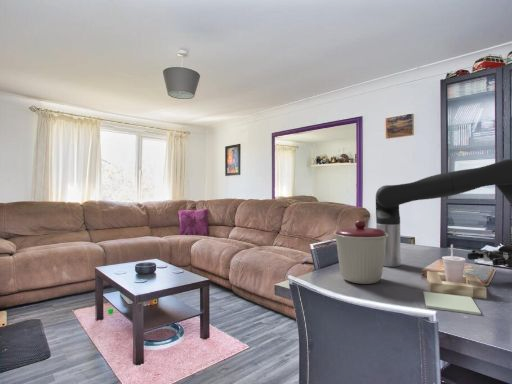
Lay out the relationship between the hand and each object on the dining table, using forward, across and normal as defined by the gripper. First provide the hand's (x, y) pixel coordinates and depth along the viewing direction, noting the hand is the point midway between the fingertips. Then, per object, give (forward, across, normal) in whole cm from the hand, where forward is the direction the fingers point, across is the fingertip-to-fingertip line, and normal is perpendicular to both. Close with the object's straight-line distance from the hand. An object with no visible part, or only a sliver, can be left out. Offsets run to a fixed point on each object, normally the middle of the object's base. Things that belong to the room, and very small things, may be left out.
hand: (480, 259), depth 99 cm
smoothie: (+11, 0, +9) cm, 14 cm away
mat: (+23, +10, +8) cm, 26 cm away
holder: (+11, 0, +8) cm, 14 cm away
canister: (+34, -16, +9) cm, 39 cm away
